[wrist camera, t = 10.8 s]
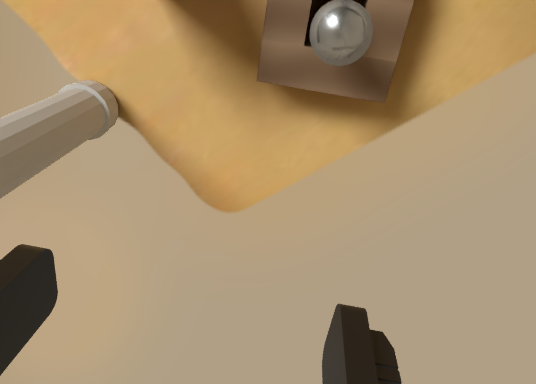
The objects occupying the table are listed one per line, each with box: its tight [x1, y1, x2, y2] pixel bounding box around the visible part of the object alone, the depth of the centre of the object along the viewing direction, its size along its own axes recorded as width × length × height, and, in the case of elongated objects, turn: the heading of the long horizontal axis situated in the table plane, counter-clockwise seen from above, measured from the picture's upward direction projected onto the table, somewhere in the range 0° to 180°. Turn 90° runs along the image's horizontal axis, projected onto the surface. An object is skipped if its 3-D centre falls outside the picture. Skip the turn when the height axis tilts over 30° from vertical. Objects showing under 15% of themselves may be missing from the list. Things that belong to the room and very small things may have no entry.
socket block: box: [257, 0, 414, 103], centre depth 33 cm, size 11×11×4 cm
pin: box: [310, 0, 373, 66], centre depth 30 cm, size 4×4×12 cm
